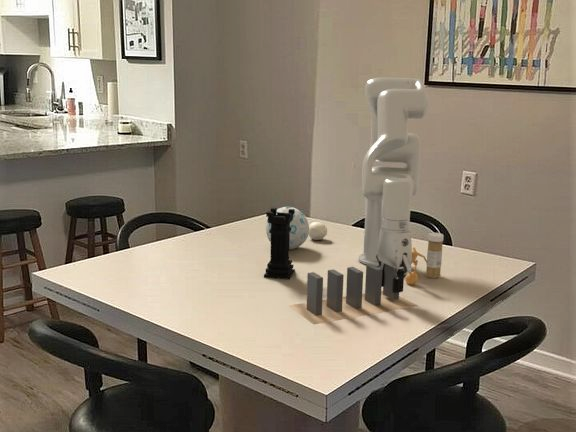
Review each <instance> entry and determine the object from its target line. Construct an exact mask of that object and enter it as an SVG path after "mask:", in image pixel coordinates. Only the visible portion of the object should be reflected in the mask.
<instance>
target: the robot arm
mask: <svg viewBox="0 0 576 432" xmlns="http://www.w3.org/2000/svg"><path fill="white" fill-rule="evenodd" d="M364 87H365V88H364V93H365V100H366V104H367V108H368V109H369V114H370V119H371V120H370V121H371V122H370V143H369V144H370V145H369V146H370V147H369V148H368V150H367V152H366V153H365V156H364V157H363V161H362V165H361V167H362V168H361V170H362V171H361V189H362V193H363V196H364V197H365V215H364V216H365V217H364V234H363V235H364V236H363V252H362V254H360V255H358V259H357V260H358V261H359V262H360V263H361V264H364V265H370V264H373V265H375V266H377V267H379V268H381V269H382V287H381V288H383V286H384V266H385V264H387V265H389V266H391V267H393V268H394V276H395V278H393V286H392V292H393V293H398V292H399V293H402V292H403V291H404V281H405V277H406V275H407V274H408V273H409V272H412V264H413V263H412V248H413V247H412V245H413V244H412V234H411V231H410V223H411V222H410V221H411V219H410V218H411V203H412V202H411V201H412V197H414V196H415V195H417V194H418V192H419V188H420V175H421V174H420V173H421V158H422V154H421V153H422V145H421V144H422V143H421V139H420V136H419V135H417V134H415V133H412V132H409V131H408V125H409V124H408V120H409V119H414V120H415V119H417V120H419V119H421V120H422V119H424V118H426V116H427V115H428V112H429V94H428V92H427V90H426V87H425V85H424V83H423V80H421V79H419V78H415V77H387V76H386V77H375V78H371V79H369V80H367V82H366V84H365V86H364ZM374 161H375V162H378V163H391V164H393V163H395V164H397V163H399V164H404V165H405V166H391V165H390V166H389V165H388V166H387V165H380V166H379V165H376V166H373V163H374ZM411 263H412V264H411ZM400 265H401V267H400ZM410 266H411V268H410ZM398 269H401V271H400V272H399V273H398Z"/></svg>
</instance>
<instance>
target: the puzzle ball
mask: <svg viewBox="0 0 576 432" xmlns="http://www.w3.org/2000/svg"><path fill="white" fill-rule="evenodd" d="M289 209H295V213H294V214H293V220H292V221H291V223H290V227H291V231H290V242H289V251H292V250H295V249H298V247H299V248H300V247H301V246H302V245H303V244H305V242H306V241H307V239H308V237H309V235H308V233H309V226H310V224H309V221H308V217H307V216H306V215H305V214H304V213H303V211H301V210H299V209H298V208H297V207H296V208H295V207H294V206H283V207H279V208H277V212H276V215H277V213H278V212H281V213H289ZM265 223H266V224H265V233H266V236H267V239H268V241H269V242H270V243H271V233H269V230H270V229H271V223H268V219H267V220H266V222H265Z"/></svg>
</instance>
